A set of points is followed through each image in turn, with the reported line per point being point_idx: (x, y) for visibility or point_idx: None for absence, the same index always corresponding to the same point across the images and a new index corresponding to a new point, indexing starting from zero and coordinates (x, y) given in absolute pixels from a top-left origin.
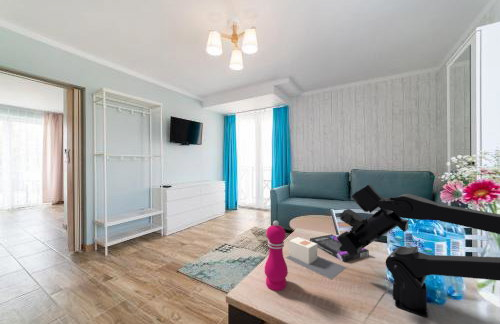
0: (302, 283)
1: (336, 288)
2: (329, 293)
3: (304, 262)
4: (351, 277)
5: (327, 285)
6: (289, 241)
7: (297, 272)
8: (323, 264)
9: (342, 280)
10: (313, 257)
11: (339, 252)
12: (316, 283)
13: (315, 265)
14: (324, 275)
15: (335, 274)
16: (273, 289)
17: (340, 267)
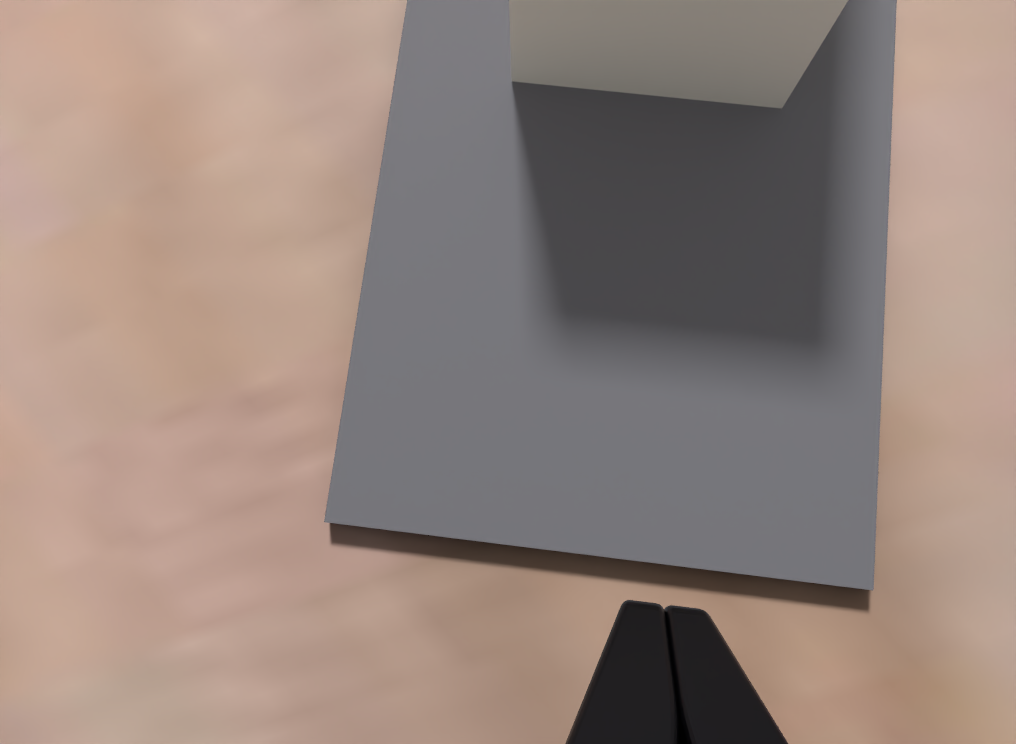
0: (2, 238)
1: (183, 649)
2: (6, 612)
3: None
4: None
5: (173, 520)
6: None
7: (213, 63)
8: (679, 255)
9: (451, 651)
10: (666, 58)
11: None
12: (122, 382)
13: (552, 174)
14: (361, 398)
15: (506, 521)
16: None
17: (792, 508)
